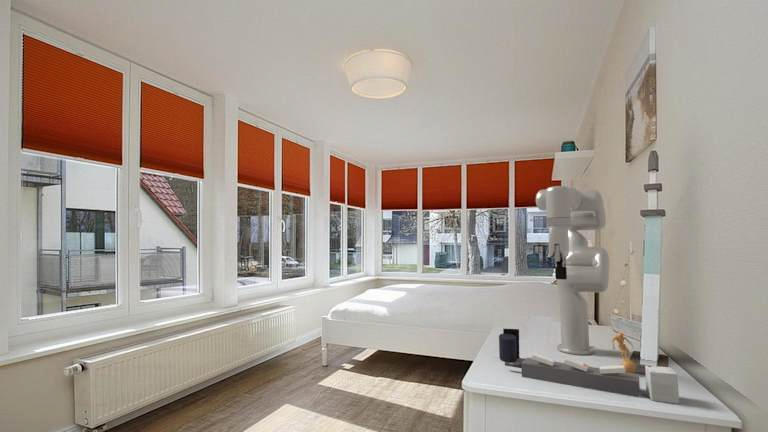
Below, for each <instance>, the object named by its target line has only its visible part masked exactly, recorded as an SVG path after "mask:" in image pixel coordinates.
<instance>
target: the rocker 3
mask: <svg viewBox="0 0 768 432" xmlns="http://www.w3.org/2000/svg"><path fill="white" fill-rule="evenodd" d="M599 368H600V369H599V370H600V374H605V373H625V371H626V369H625V366H624V365H621V364H620V365H603V366H599Z"/></svg>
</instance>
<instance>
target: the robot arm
mask: <svg viewBox="0 0 768 432" xmlns="http://www.w3.org/2000/svg"><path fill="white" fill-rule="evenodd" d="M603 200H604V199H603V196H602V194H601V193H600V191H599V190H598V189H580V190H578V189H576V188H575V187H568V186H566V185H555V186H549V187H547V188H546V189H540V190H538V192H537V193H536V195H535V204H536V207H537V209H538V210H540V212H544V211H545V212H546V213H545V215H546V229H548V257H549V258H552V259H553V258H554V265H555V267H554V270H555V271H554V273H555V280H556V282H557V289H558V296H559V315H560V316H559V317H560V338H561V340H560V342H561V343H560V344H557V345H556V348H557V351H559V352H562V353H566V354H571V355H578V356H579V355H580V356H582V355H583V356H584V355H585V356H586V355H593V354H595V348H593V347H592V346H590V332H589V331H590V330H589V308H588V307H589V305H588V302H587V300H586V299H585V297H584V296H583V295H582V294H581V293H604V292H606V291H607V289H608V287H609V275H610V274H609V272H610V271H609V270H610V259H609V253H608V251H607V250H606V248H605V247H602V246H589V241H588V239H587V238H586V237H585V235H583V233H580V232H579V231H598V230H602V229H604V228H605V227H606V223H607V218H606V211H605V205H604V201H603Z"/></svg>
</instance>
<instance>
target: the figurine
mask: <svg viewBox="0 0 768 432" xmlns="http://www.w3.org/2000/svg"><path fill="white" fill-rule="evenodd" d="M625 340H626V342H628V343H629V345H631V347H632V348H633V349H634V348H635V347H634V345H633V344H632V343H631V341H630V340H629V339H628V338H627V337H626V336H625V335H624V333H623V332H620V333H615V334H614V337H613V338H612V339H611V344H612V350H613V351H615V350H616V347H615V342H614V341H616V342H617V343H618V345H617V347H618V349H619V350H620V351H621V353H620V354H621V358H622V359H623V360H622V361H621V363H620V365H624V366H625V369H626V371H625V372H628V373H635V372H636V370H637V366H636V364H635V362H634V361H632V360H631V359H630V358H629V357H628V354H629V353H630V350H629V348H628V347H627V345H626V344H624V341H625Z"/></svg>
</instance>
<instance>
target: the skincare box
mask: <svg viewBox="0 0 768 432" xmlns="http://www.w3.org/2000/svg"><path fill="white" fill-rule="evenodd" d="M644 368H645V371H644V372H645V384H646V387H645V389H646V395H647V396H648V397H649V399H650V400H651V401H654V402H661V403H669V404H670V403H671V404H680V397H679V396H680V395H679V392H680V391H679V381H678V380H679V379H678V378H679V377H678V374H677V373H676V372H675V371H674V370H673V368H671V367H667V366H654V365H644Z"/></svg>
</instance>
